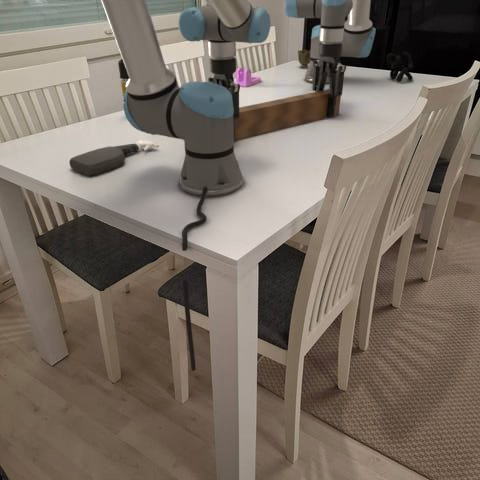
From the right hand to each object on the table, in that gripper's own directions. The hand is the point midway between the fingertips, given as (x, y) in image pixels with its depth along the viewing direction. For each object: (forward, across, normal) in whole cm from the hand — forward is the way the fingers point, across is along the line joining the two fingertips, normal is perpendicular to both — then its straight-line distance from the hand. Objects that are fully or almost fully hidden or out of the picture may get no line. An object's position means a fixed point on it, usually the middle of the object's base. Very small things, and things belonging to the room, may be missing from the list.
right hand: (324, 114), depth 157 cm
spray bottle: (+1, +4, +75) cm, 75 cm away
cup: (+1, +67, -50) cm, 84 cm away
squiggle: (+1, +19, -64) cm, 67 cm away
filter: (+1, +39, +55) cm, 68 cm away
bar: (+1, 0, +21) cm, 21 cm away
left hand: (0, 0, +42) cm, 42 cm away
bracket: (+1, +57, -8) cm, 57 cm away
